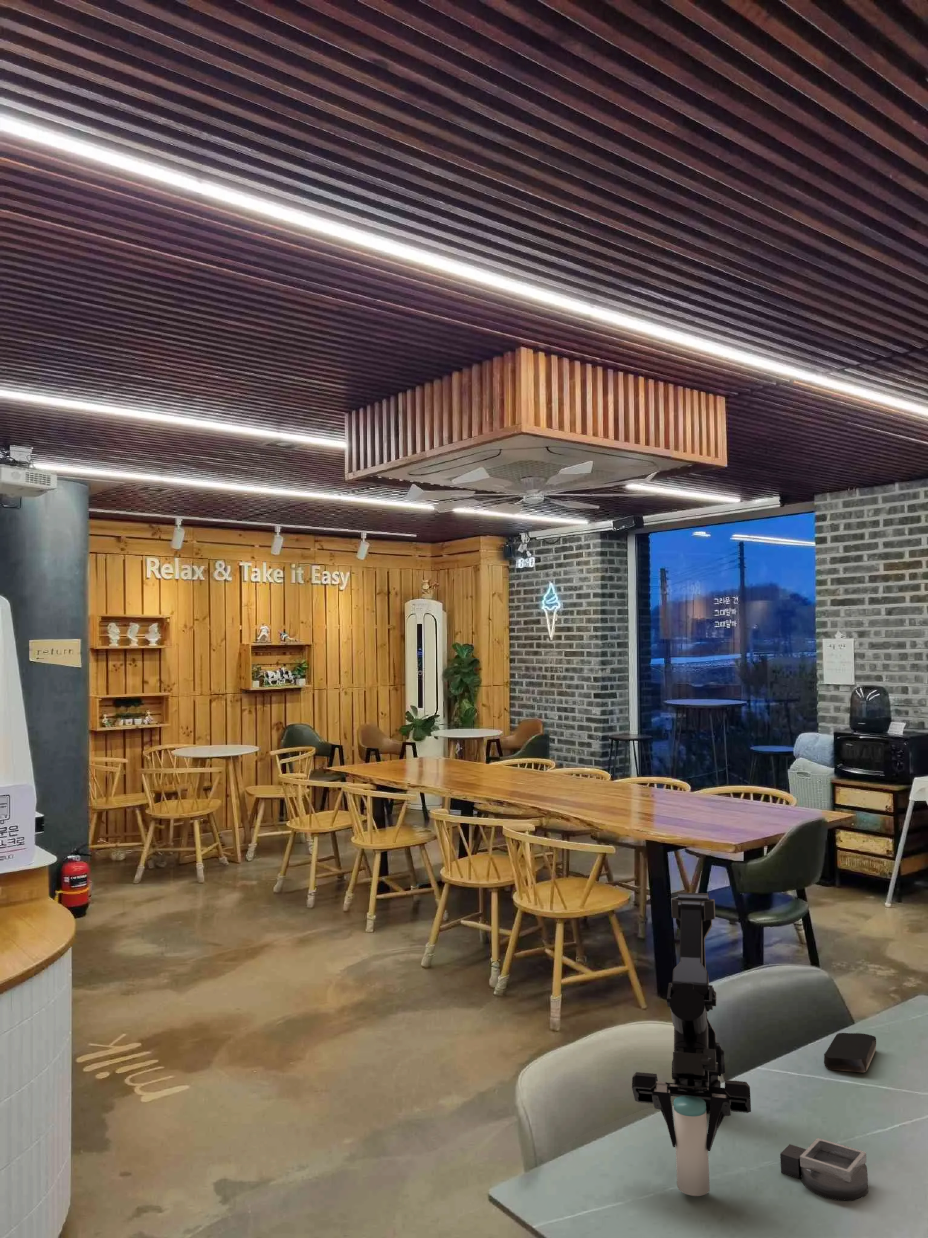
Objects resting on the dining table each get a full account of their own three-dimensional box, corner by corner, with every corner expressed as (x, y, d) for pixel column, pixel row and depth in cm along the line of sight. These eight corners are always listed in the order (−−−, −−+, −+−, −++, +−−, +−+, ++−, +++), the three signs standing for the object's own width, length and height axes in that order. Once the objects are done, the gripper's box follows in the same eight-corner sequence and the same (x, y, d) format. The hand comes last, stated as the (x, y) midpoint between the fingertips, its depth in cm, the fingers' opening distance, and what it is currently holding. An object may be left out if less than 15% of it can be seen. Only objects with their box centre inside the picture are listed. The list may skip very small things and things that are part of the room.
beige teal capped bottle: (671, 1189, 146) (667, 1104, 147) (686, 1175, 150) (682, 1093, 151) (700, 1200, 143) (696, 1113, 143) (715, 1186, 146) (711, 1101, 147)
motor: (773, 1180, 150) (772, 1151, 150) (797, 1155, 157) (796, 1128, 158) (856, 1208, 141) (854, 1177, 142) (877, 1181, 149) (875, 1152, 149)
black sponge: (866, 1080, 187) (865, 1061, 187) (822, 1071, 191) (821, 1053, 192) (878, 1052, 201) (877, 1035, 201) (837, 1045, 205) (836, 1028, 205)
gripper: (630, 1022, 154) (626, 1121, 143) (747, 1031, 149) (752, 1135, 138) (637, 1052, 161) (633, 1149, 150) (748, 1062, 156) (753, 1163, 145)
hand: (691, 1148), depth 145 cm, fingers closed on beige teal capped bottle, 5 cm apart
